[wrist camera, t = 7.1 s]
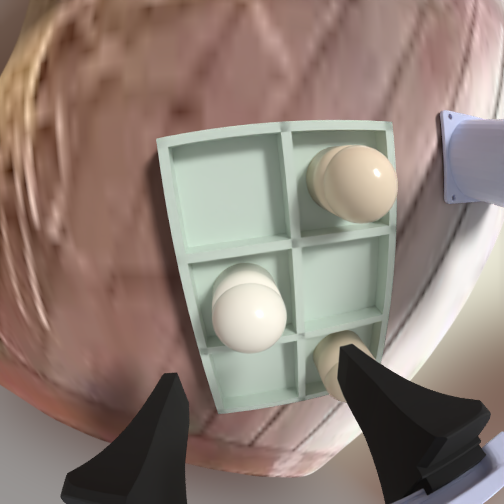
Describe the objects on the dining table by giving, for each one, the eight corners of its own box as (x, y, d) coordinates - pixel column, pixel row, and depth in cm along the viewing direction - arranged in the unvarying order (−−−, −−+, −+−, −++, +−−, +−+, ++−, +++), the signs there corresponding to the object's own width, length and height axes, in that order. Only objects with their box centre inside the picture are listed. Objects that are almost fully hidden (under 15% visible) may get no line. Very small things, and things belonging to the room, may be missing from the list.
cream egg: (273, 258, 19) (292, 295, 14) (278, 314, 20) (295, 361, 15) (207, 267, 19) (203, 308, 14) (218, 323, 20) (219, 373, 15)
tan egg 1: (363, 145, 17) (411, 145, 12) (367, 208, 19) (413, 227, 13) (302, 148, 17) (336, 145, 12) (308, 215, 18) (341, 238, 13)
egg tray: (375, 124, 17) (392, 121, 15) (367, 366, 25) (377, 380, 22) (163, 140, 16) (156, 138, 14) (218, 396, 24) (218, 413, 22)
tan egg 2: (362, 324, 22) (393, 364, 17) (358, 363, 23) (383, 403, 18) (312, 336, 21) (335, 381, 16) (312, 375, 23) (331, 420, 18)
